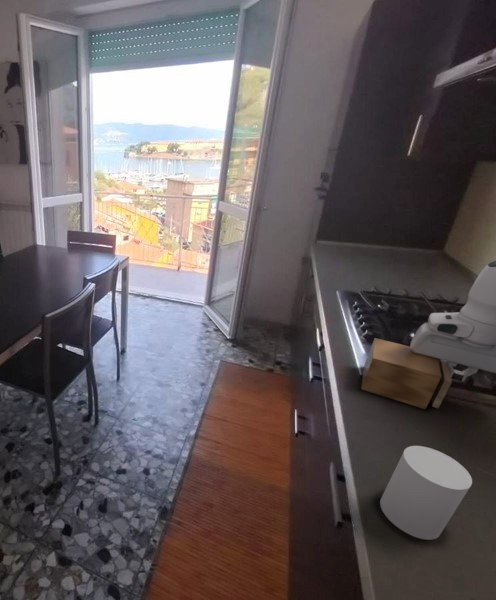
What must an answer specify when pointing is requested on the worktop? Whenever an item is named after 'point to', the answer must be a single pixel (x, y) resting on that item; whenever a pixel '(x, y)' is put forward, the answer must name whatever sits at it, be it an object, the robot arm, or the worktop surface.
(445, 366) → the drawer
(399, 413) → the worktop surface
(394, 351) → the cabinet
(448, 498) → the cup
